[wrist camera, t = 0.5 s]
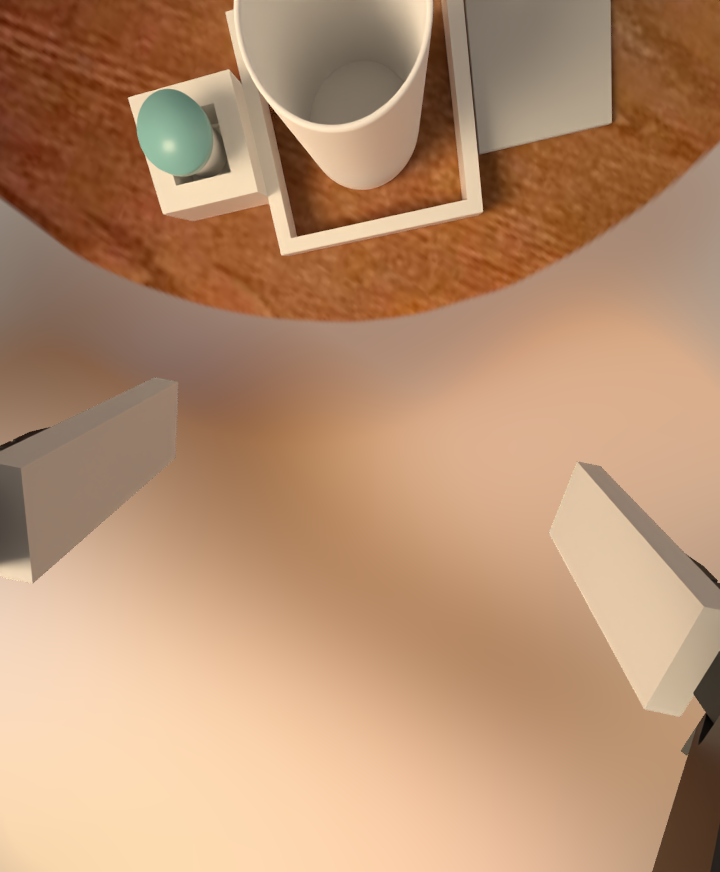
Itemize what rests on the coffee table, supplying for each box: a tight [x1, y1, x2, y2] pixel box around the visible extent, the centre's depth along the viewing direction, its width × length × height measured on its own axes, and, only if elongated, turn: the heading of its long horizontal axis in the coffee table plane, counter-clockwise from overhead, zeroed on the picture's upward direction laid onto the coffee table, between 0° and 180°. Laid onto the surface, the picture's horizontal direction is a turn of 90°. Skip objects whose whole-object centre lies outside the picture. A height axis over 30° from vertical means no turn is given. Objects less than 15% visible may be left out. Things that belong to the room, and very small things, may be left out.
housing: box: [128, 0, 483, 256], centre depth 32 cm, size 15×22×5 cm
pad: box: [465, 0, 612, 155], centre depth 31 cm, size 9×9×1 cm
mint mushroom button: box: [137, 89, 227, 178], centre depth 30 cm, size 4×4×5 cm
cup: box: [234, 0, 433, 190], centre depth 26 cm, size 8×8×16 cm
